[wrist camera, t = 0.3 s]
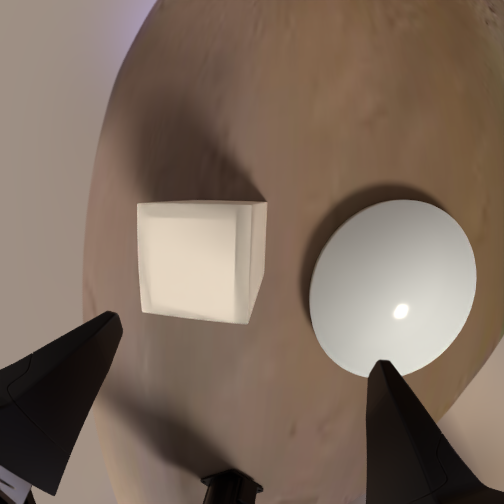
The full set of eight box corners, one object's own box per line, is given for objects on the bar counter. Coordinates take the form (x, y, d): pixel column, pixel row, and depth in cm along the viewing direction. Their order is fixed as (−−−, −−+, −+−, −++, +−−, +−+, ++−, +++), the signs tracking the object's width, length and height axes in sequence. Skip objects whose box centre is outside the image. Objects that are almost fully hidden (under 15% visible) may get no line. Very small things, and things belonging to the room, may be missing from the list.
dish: (369, 396, 25) (372, 404, 23) (269, 282, 24) (268, 288, 22) (487, 297, 22) (495, 301, 20) (413, 161, 21) (420, 160, 19)
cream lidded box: (264, 273, 24) (247, 324, 14) (196, 268, 24) (142, 311, 15) (267, 201, 23) (251, 205, 13) (196, 199, 23) (137, 203, 14)
